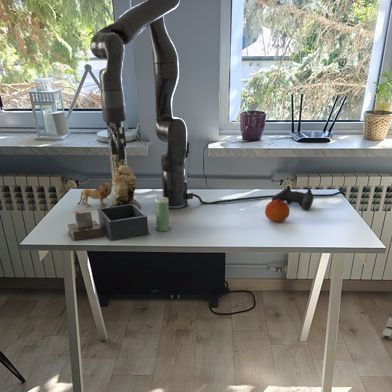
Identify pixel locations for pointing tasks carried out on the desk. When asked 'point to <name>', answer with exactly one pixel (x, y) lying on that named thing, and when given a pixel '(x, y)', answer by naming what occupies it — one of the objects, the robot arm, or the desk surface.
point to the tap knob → (83, 218)
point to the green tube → (162, 213)
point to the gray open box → (123, 221)
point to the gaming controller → (295, 197)
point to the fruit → (277, 211)
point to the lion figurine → (96, 194)
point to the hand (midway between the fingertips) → (118, 156)
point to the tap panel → (85, 231)
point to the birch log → (116, 161)
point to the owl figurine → (124, 187)
